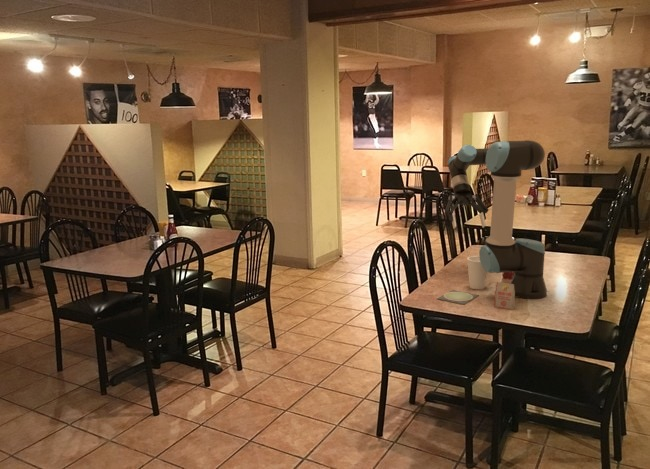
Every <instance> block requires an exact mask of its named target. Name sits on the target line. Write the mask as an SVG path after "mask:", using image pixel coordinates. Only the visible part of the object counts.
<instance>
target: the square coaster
mask: <svg viewBox="0 0 650 469" xmlns="http://www.w3.org/2000/svg"><path fill="white" fill-rule="evenodd" d="M479 296H480V295H479V294H476V293H471V292H465V291H460V290H455V289H452V290H451V291H447V293H444V294H443V295H440V296H438V297H437V299H436V300H437V301H438V300H439V301H443V302H447V303H453V304H458V305H462V306H464V305H466V304H468V303H471V302H472V301H473V300H474V299H477V298H478V297H479Z"/></svg>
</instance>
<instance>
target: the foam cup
mask: <svg viewBox="0 0 650 469" xmlns="http://www.w3.org/2000/svg"><path fill="white" fill-rule="evenodd" d="M466 265H467V273H468V281H469V283H468V284H469V288H470V289H472V290H484V289H485V286H486V281H487V277H488V272H487V271H485V269H484V268H483V266H482V264H481V262H480V257H479V255H478V256H476V255H472V256H468V257H466Z"/></svg>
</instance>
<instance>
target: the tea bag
mask: <svg viewBox="0 0 650 469" xmlns="http://www.w3.org/2000/svg"><path fill="white" fill-rule="evenodd" d="M515 298H516V296H515V289H514V284H511V283H507V282H499V281H496V284H495V291H494V306H493V307H494V308H497V309H503V310H510V311H512V310H513V309H514V308H515V301H516V300H515Z"/></svg>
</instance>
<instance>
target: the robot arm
mask: <svg viewBox="0 0 650 469" xmlns="http://www.w3.org/2000/svg"><path fill="white" fill-rule="evenodd" d="M545 156H546V153H545V149H544V147H543V145H541V144H540V143H539V142H537V141H535V140H529V139H527V140H502V141H496V142H493V143H491V145H490V146H489V147H487V148H477V147H475V146H474V145H470V144H464V145H462V147H461V148H460V149H459V150H458V151H457V155H453V156H451V157H450V158H449V159H448V160H447V161H448V162H447V166H448V171H449V175H450V179H451V180H450V181H451V185H452V189H453V195H452V194H449V196H448V197H447V200H448V201H447V205H446V207H445V210H444V213H443V214H444V215H447V217H448V219H449V222H451V224H452V228H453V230H454V229H457V222H456V221H457V220H456V216H455V213H454V212H455V210H456V209H457V207H458V206H459V205H460V206H463V205H465V206H469V207H472V208H473V209H475V211H476V212H478V213H479V219H480V223H481V227H482V228H485V227H486V226H487V225H486V224H487V223H486V220H487V217H486V214H487V213H488V212H489V208H488V207H487V206H486V204H485V203H484V202H483V201H482V200H481V198H480V196H479V194H478V193H475V195H474V194H473V195H472V192H471V188H470V187H471V186H470V182H469V179H468V178H469V177H468V175H467V174H468V172H467V170H468V168H469V167H470V166H481V165H484V166H485V167H486V170H487V171H488V172H490V176H491V177H492V178H493V190H492V191H493V192H492V203H491V206H492V207H491V216H490V218H491V219H490V231H489V232H490V233H489V234H490V235H489V236H488V237H486V239H485V244H484V245H481V246H480V247H479V252H478V256H479V257H480V262H481V264H482V266H483V268H484V269H485V271H487V273H488V274H501V273H510V272H511V273H512V272H513V277H512V279H511V281H510V284H514V289H515V298H516V297H517V298H522V299H531V300H533V299H535V300H536V299H542V298H545V297H547V294H548V293H547V291H548V289H547V286H546V282H545V280H544V269H545V268H544V267H545V254H546V250H545V249H546V248H545V244H544V243H543V242H541V241H538V240H534V239H529V238H516V239H514V238H513V230H514V227H513V226H514V218H515V216H514V215H515V204H516V191H517V183H518V182H517V181H518V179H520V178H521V176H522V171H528V170H534V169H537V168H538V167H539V166H541V164H543V162H544V160H545ZM454 200H455V201H456V202H455V204H454V205H453V206H452V208H451V209H450V207H451V205H452V203H453V202H452V201H454Z"/></svg>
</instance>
